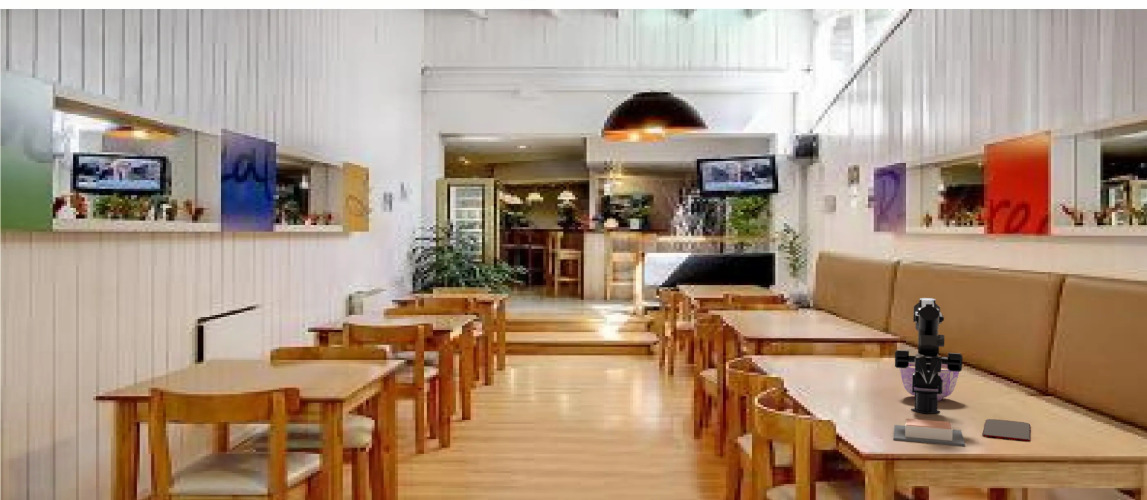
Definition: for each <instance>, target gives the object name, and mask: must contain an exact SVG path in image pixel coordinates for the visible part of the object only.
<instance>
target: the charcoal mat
mask: <svg viewBox="0 0 1147 500" xmlns="http://www.w3.org/2000/svg"><path fill="white" fill-rule="evenodd" d="M952 430H953V432H952V441H949V440H938V439H926V438H915V437H905V425H901V424H894V428H893V438H892V439H893V441H898V440H901V442H910V441H911V442H910V443H912V442H913V443H923V444H934V445H945V446H946V445H947V446H957V447H966V443H965V440H964V435H963V431H962V429H961V430H960V429H952Z"/></svg>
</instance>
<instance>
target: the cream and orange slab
mask: <svg viewBox="0 0 1147 500" xmlns="http://www.w3.org/2000/svg"><path fill="white" fill-rule="evenodd" d="M904 426H905V437H915V438H926V439H938V440H949V441H952V432H953V430H954V429H953V427H952V423H951V421H940V420H932V419H931V420H930V419H917V418H915V419H914V418H906V419H905V425H904Z"/></svg>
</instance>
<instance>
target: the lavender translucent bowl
mask: <svg viewBox="0 0 1147 500" xmlns="http://www.w3.org/2000/svg"><path fill="white" fill-rule="evenodd" d="M899 373H900V376H901V382H902V384H903V388H904V389H905V391H906V392H907V393H908V394H910V395H911V396H914V397H915V392H914V393H912V377H913V374H915V363H909V367H907V368H899ZM959 374H960V372H956V371H949V370H948V369H947V364H942V366H941V372H938V375H941V379H942V380H943V386H942V394H937V399H938V401H941V400H942V399H943V398H947V397H949V396H951V395H952V394H953V392H954V390H955V387H956V385H957V381H958V378H959ZM914 388H915V387H914ZM915 389H920V388H915ZM929 390H935V389H929ZM936 390H938V389H936Z"/></svg>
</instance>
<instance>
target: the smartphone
mask: <svg viewBox="0 0 1147 500" xmlns="http://www.w3.org/2000/svg"><path fill="white" fill-rule="evenodd" d="M1030 427H1031V424H1030V423H1029V422H1024V421H1015V420H1007V419H1006V420H1005V419H995V418H993V419H992V418H986V420H985V422H984V425H983V432H982V437H983V438H989V439H997V440H1007V441H1016V442H1017V441H1018V442H1025V443H1026V442H1028V443H1030V442H1031V439H1030V432H1031V428H1030Z"/></svg>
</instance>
